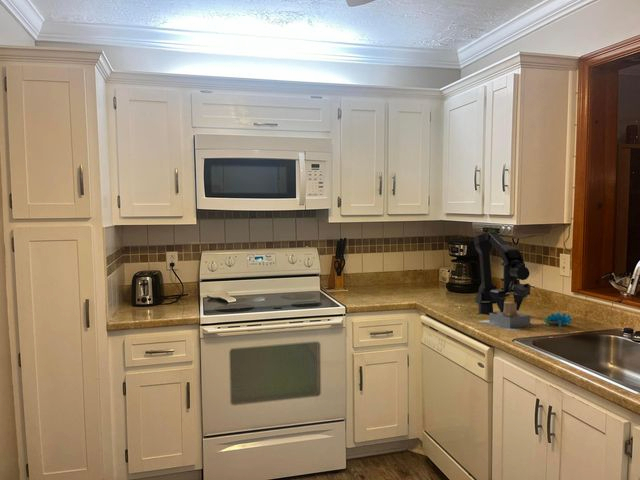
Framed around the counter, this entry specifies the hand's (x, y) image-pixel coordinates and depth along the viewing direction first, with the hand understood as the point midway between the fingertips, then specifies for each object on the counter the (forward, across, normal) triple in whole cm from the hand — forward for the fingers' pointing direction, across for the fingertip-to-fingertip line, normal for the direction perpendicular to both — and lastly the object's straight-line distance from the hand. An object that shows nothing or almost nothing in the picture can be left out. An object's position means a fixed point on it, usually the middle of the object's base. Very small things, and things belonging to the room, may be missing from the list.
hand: (509, 311), depth 213 cm
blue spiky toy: (+7, +17, -11) cm, 21 cm away
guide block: (+6, 0, 0) cm, 6 cm away
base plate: (+7, 0, 0) cm, 7 cm away
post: (+6, 0, 0) cm, 6 cm away
